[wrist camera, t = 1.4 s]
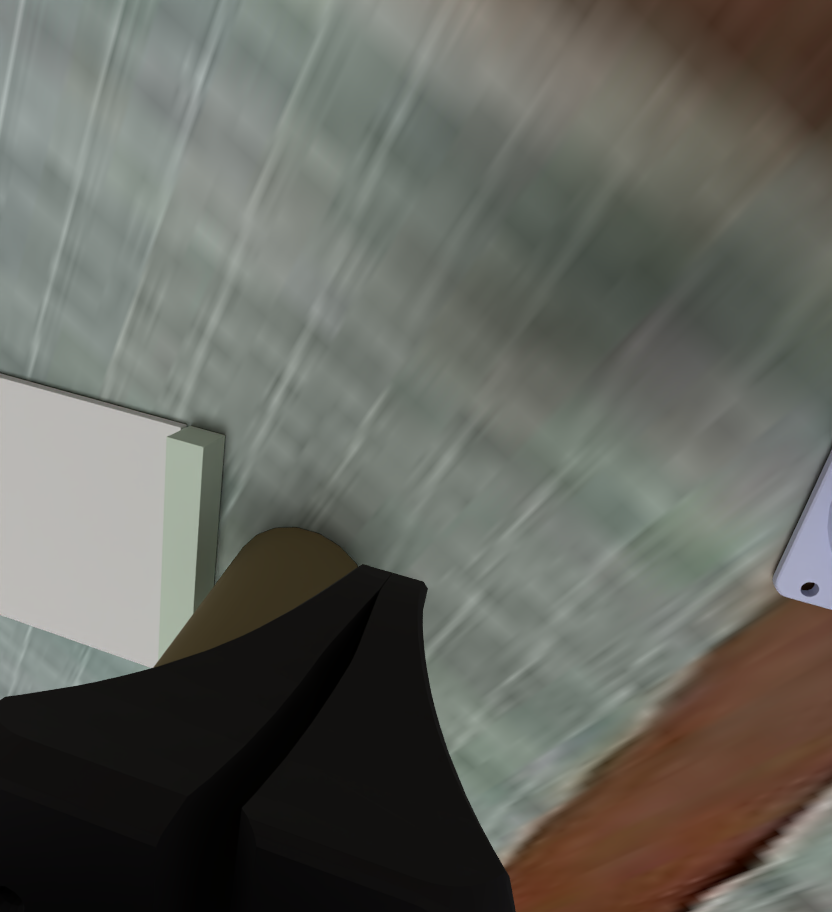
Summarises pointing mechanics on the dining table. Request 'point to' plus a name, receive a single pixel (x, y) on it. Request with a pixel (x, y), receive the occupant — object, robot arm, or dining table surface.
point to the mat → (82, 517)
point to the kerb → (189, 526)
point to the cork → (261, 588)
